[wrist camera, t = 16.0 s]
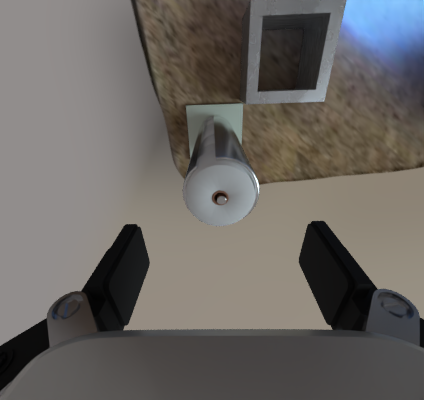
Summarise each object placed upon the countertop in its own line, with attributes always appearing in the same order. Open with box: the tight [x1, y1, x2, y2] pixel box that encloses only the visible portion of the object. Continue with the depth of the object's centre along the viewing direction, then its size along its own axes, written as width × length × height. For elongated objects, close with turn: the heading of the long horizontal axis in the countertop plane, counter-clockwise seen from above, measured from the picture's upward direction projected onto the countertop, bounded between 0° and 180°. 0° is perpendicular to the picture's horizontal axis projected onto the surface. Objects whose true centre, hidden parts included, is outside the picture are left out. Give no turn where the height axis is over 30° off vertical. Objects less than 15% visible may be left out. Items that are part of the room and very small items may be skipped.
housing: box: [240, 0, 346, 104], centre depth 29 cm, size 11×11×8 cm
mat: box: [186, 103, 243, 158], centre depth 38 cm, size 10×10×1 cm
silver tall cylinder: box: [183, 116, 260, 226], centre depth 27 cm, size 6×6×25 cm
